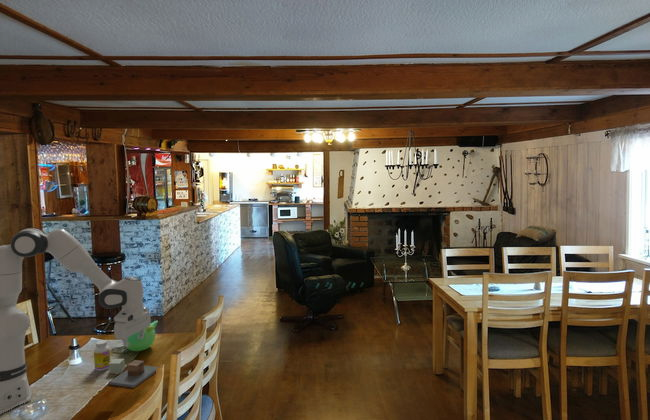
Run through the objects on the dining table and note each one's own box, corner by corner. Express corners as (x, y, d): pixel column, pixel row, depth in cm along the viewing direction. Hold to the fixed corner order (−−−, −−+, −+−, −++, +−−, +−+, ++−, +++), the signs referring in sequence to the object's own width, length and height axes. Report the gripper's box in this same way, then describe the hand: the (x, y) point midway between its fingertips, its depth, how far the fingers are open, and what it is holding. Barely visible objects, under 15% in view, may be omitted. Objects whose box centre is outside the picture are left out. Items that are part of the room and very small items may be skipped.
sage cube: (120, 373, 205) (119, 363, 205) (109, 373, 205) (108, 363, 205) (124, 368, 210) (124, 358, 210) (114, 369, 210) (113, 358, 210)
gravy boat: (125, 344, 240) (124, 318, 238) (159, 340, 245) (157, 315, 243) (121, 358, 222) (119, 329, 221) (157, 353, 228) (155, 325, 226)
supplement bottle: (104, 371, 207) (102, 345, 206) (91, 370, 209) (90, 344, 207) (113, 365, 214) (112, 339, 213) (101, 364, 215) (100, 339, 214)
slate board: (133, 387, 192) (133, 385, 192) (108, 384, 195) (108, 381, 195) (159, 369, 209) (159, 367, 209) (135, 366, 212) (135, 364, 212)
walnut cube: (137, 376, 200) (136, 365, 199) (127, 375, 201) (127, 364, 201) (144, 371, 205) (143, 361, 204) (135, 370, 206) (134, 360, 205)
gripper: (142, 305, 211) (143, 334, 212) (111, 318, 191) (112, 349, 192) (153, 306, 209) (154, 335, 210) (123, 319, 190) (124, 351, 191)
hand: (133, 342), depth 201 cm, fingers open, 8 cm apart
